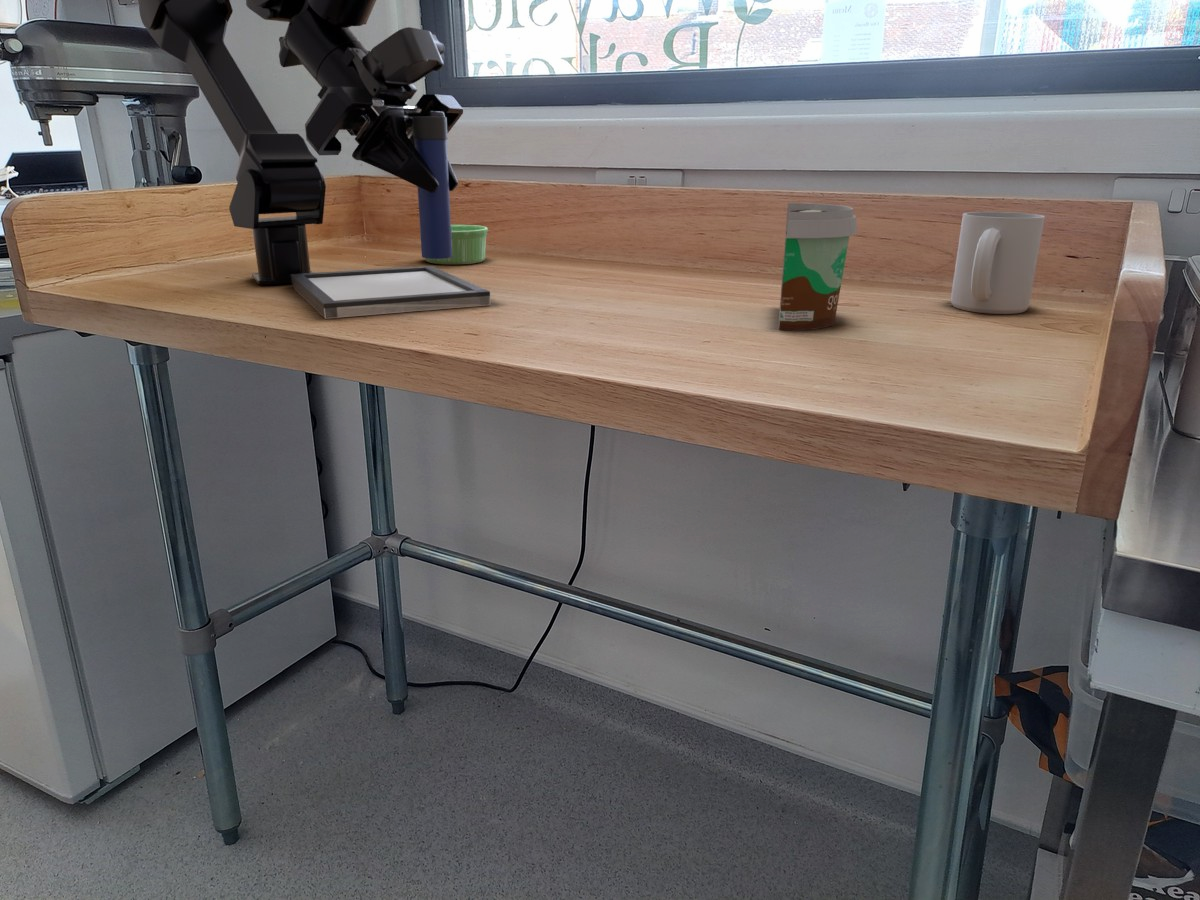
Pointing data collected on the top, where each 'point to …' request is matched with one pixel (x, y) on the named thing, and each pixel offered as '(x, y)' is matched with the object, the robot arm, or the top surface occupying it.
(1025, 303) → the cup
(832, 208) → the food container
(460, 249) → the ramekin
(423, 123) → the marker
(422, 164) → the robot arm
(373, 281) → the whiteboard
